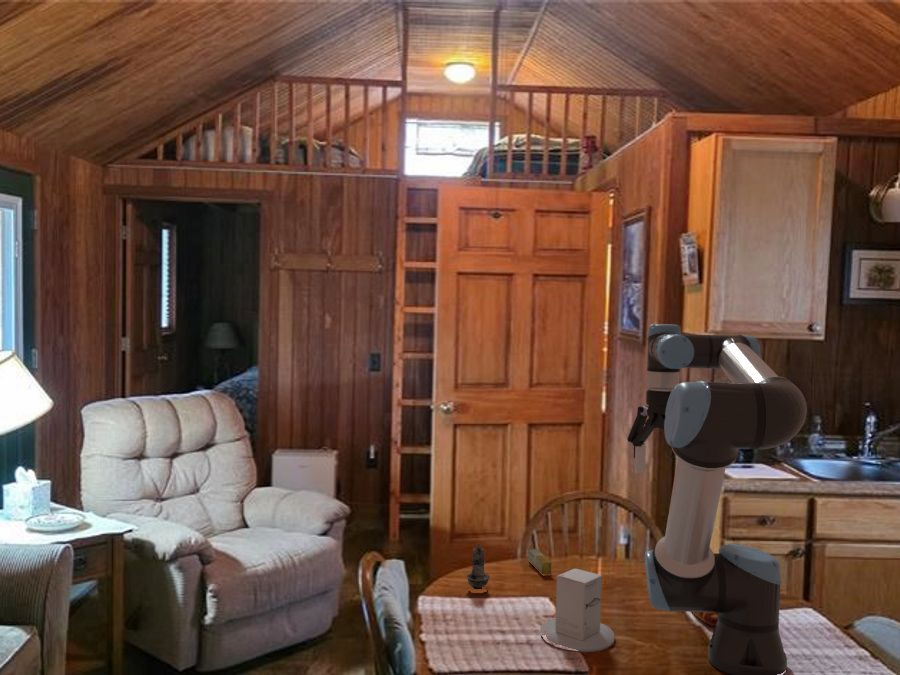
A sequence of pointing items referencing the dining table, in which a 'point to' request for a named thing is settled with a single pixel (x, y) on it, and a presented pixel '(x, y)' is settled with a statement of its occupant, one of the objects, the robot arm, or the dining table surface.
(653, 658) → the dining table surface
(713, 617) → the croissant
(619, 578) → the dining table surface
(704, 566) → the robot arm
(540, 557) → the medication box
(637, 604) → the dining table surface
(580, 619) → the supplement box
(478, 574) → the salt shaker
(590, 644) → the plate
